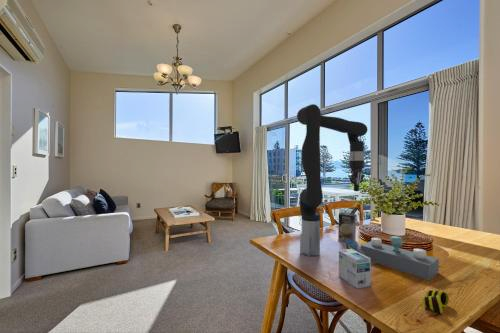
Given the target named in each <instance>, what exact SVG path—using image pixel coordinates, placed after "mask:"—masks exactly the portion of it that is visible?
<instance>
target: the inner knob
mask: <svg viewBox="0 0 500 333" xmlns="http://www.w3.org/2000/svg"><path fill="white" fill-rule="evenodd" d="M370 241H371V245H372V246H375V247H381V246H382V244H383V243H382V238H379V237H371V240H370Z"/></svg>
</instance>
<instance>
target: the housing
mask: <svg viewBox="0 0 500 333" xmlns="http://www.w3.org/2000/svg"><path fill="white" fill-rule="evenodd" d="M359 250H361V251H363V252H364V253H365V256H367V257H370V258H371V262H374V263H377V264H380V265H383V266H384V267H388V266H389V267H388V268H391V269H394V270H397V271H401V272H403V273H406V274H408V273H409V274H408V275H412V276H415V277H418V278H420V277H421V279H423V278H424V280H427V281H430V280H432V279H433V278H434V277H435V276H437V275H438V274H439V268H440V267H439V263H440V262H439V260H440V259H439V258H438V257H433V256H430V255H426V259H425V260H421V259H417V258H415V257H413V251H412V250H408V249H403V248H400V247H399V253H396V252H394V245H389V244H384V243H382V246H381V247H375V246H372V245H371V240H370V241H368V242H365V243H362V244H360V249H359Z"/></svg>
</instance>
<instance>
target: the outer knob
mask: <svg viewBox="0 0 500 333" xmlns="http://www.w3.org/2000/svg"><path fill="white" fill-rule="evenodd" d="M412 252H413V257H415V258H417V259H421V260H425V259H426V256H427V251H426V250H425V249H422V248H413V251H412Z"/></svg>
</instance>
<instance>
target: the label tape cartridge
mask: <svg viewBox="0 0 500 333" xmlns="http://www.w3.org/2000/svg"><path fill="white" fill-rule="evenodd" d="M345 249H353V250H355V251H357V252H359V253H361V254H363V255H365V253H364V252H363V251H361V250H360V249H359V248H358V243H356V241H355V242H353V241H351V240H349V239H348V238H346V242H345Z"/></svg>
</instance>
